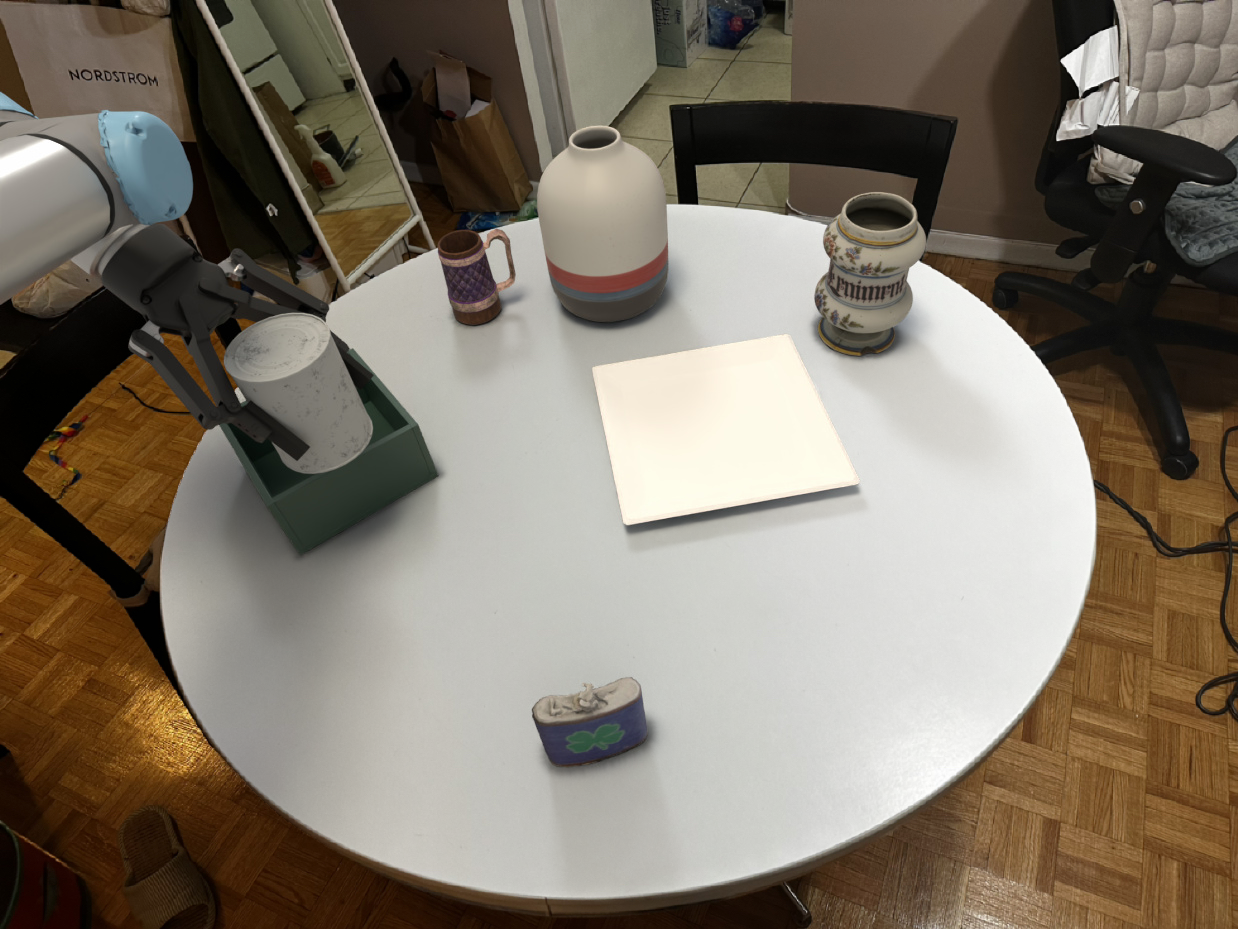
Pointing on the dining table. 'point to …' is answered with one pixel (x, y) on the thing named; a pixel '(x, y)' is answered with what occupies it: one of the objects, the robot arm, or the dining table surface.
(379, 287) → the dining table surface
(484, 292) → the mug
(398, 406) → the bin
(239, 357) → the white speckled cylinder
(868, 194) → the apothecary jar
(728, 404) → the white flat square slab
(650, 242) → the vase
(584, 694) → the flask
